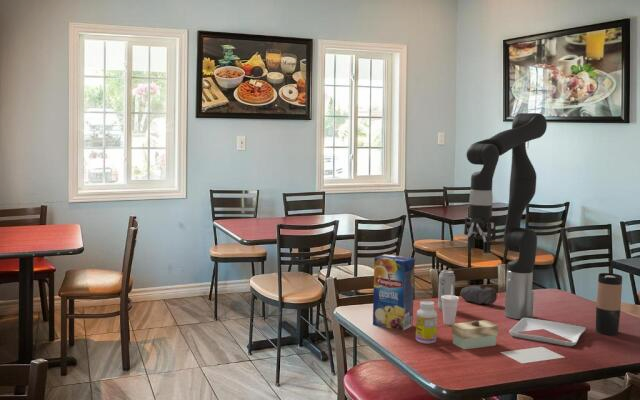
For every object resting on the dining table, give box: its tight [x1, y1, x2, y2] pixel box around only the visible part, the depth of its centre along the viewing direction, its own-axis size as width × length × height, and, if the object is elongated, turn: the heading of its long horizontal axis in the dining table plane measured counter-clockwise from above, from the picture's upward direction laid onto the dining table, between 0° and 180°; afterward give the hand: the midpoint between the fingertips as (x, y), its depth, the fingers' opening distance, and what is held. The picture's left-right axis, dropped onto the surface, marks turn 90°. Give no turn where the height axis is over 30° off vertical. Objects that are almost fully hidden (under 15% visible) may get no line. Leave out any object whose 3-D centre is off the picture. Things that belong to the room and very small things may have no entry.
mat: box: [500, 346, 565, 364], centre depth 194 cm, size 16×10×1 cm, turn 112°
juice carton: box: [372, 253, 416, 331], centre depth 224 cm, size 12×8×24 cm, turn 56°
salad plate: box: [508, 317, 587, 347], centre depth 215 cm, size 21×21×3 cm
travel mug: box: [595, 272, 623, 336], centre depth 221 cm, size 8×8×20 cm
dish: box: [452, 334, 497, 350], centre depth 202 cm, size 12×6×4 cm, turn 112°
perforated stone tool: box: [460, 285, 498, 306], centre depth 257 cm, size 15×5×7 cm, turn 50°
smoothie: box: [441, 285, 460, 326], centre depth 228 cm, size 6×6×14 cm
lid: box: [451, 319, 499, 339], centre depth 202 cm, size 13×6×4 cm, turn 112°
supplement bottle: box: [415, 300, 438, 345], centre depth 208 cm, size 7×7×13 cm
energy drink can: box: [437, 269, 456, 312], centre depth 246 cm, size 6×6×15 cm
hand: (478, 250), depth 218 cm, fingers open, 8 cm apart
